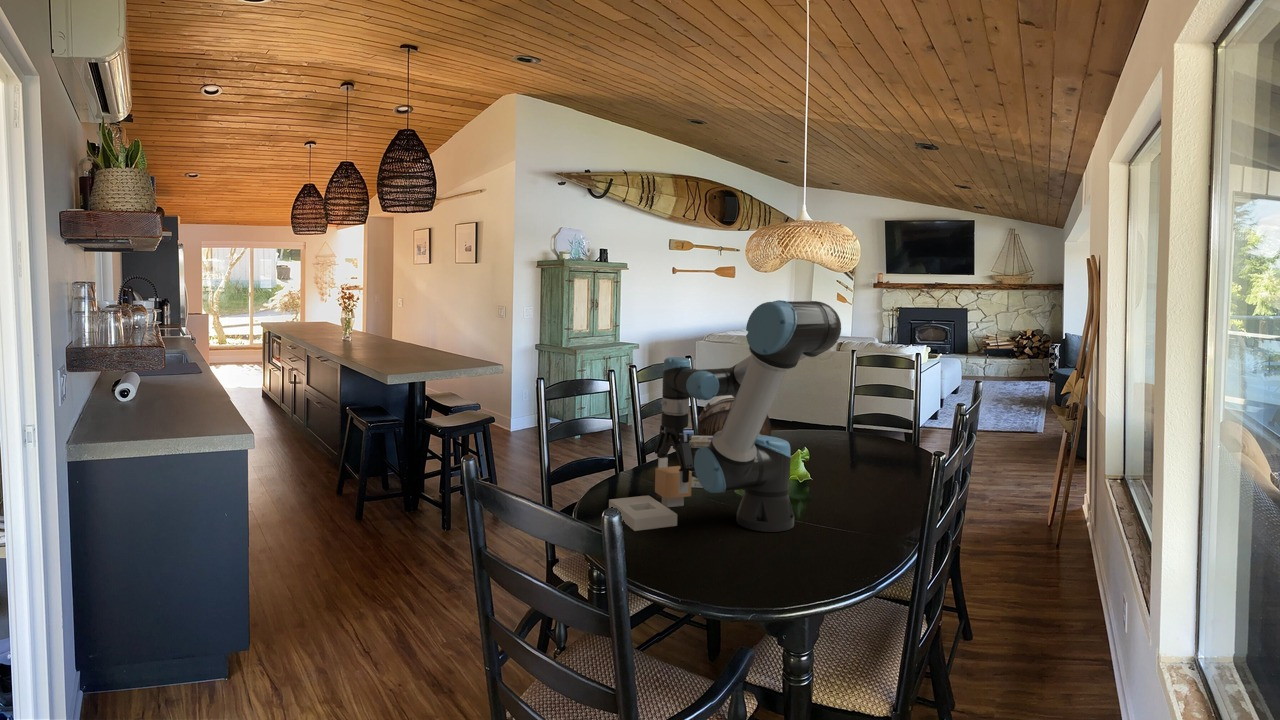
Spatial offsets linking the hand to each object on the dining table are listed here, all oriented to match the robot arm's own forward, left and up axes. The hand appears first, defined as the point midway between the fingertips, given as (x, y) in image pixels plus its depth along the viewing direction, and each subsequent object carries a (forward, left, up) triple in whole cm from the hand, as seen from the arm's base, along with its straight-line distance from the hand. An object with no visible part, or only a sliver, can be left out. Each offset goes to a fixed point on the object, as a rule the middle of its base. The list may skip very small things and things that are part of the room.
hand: (672, 486), depth 217 cm
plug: (0, 0, -5) cm, 5 cm away
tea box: (+14, -21, -5) cm, 26 cm away
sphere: (+33, -39, -5) cm, 51 cm away
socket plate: (-8, +13, -5) cm, 16 cm away
